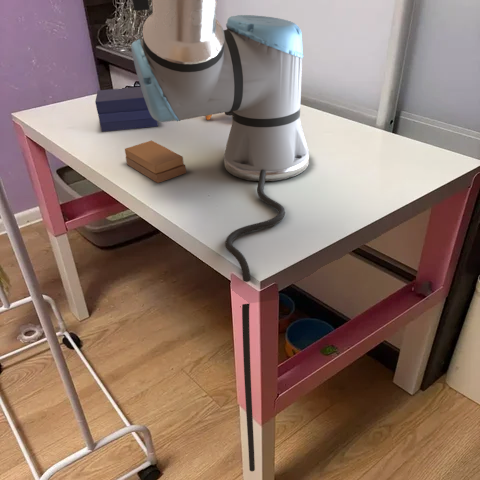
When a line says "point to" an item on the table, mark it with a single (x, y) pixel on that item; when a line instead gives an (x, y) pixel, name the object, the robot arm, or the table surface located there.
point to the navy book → (120, 100)
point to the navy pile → (126, 120)
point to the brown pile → (155, 161)
